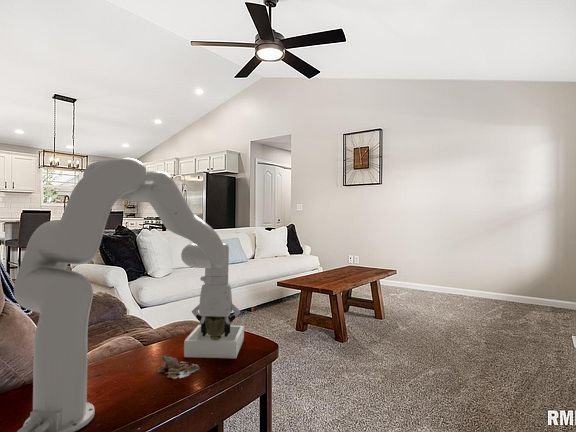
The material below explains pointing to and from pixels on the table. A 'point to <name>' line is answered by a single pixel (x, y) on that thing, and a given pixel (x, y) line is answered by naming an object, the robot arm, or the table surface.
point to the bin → (214, 344)
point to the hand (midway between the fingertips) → (215, 334)
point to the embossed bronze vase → (215, 327)
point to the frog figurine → (177, 367)
